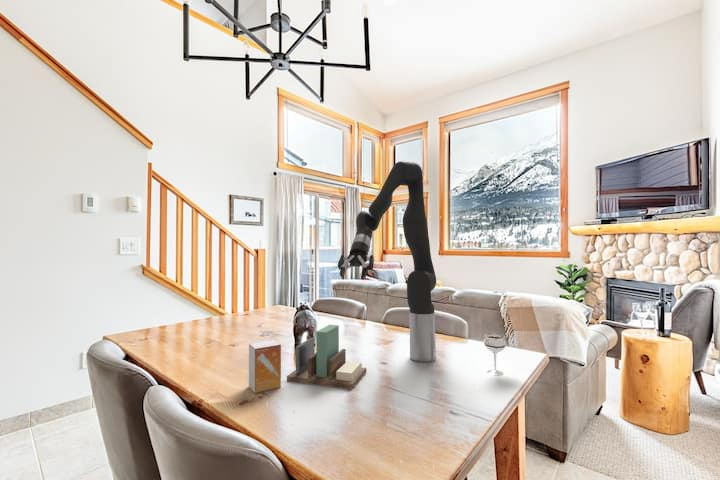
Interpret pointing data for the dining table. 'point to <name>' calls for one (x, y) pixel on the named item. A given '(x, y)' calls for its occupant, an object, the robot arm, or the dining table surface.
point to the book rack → (331, 380)
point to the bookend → (304, 355)
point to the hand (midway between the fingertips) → (352, 276)
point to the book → (326, 348)
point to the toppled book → (349, 371)
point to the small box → (264, 366)
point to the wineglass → (495, 348)
